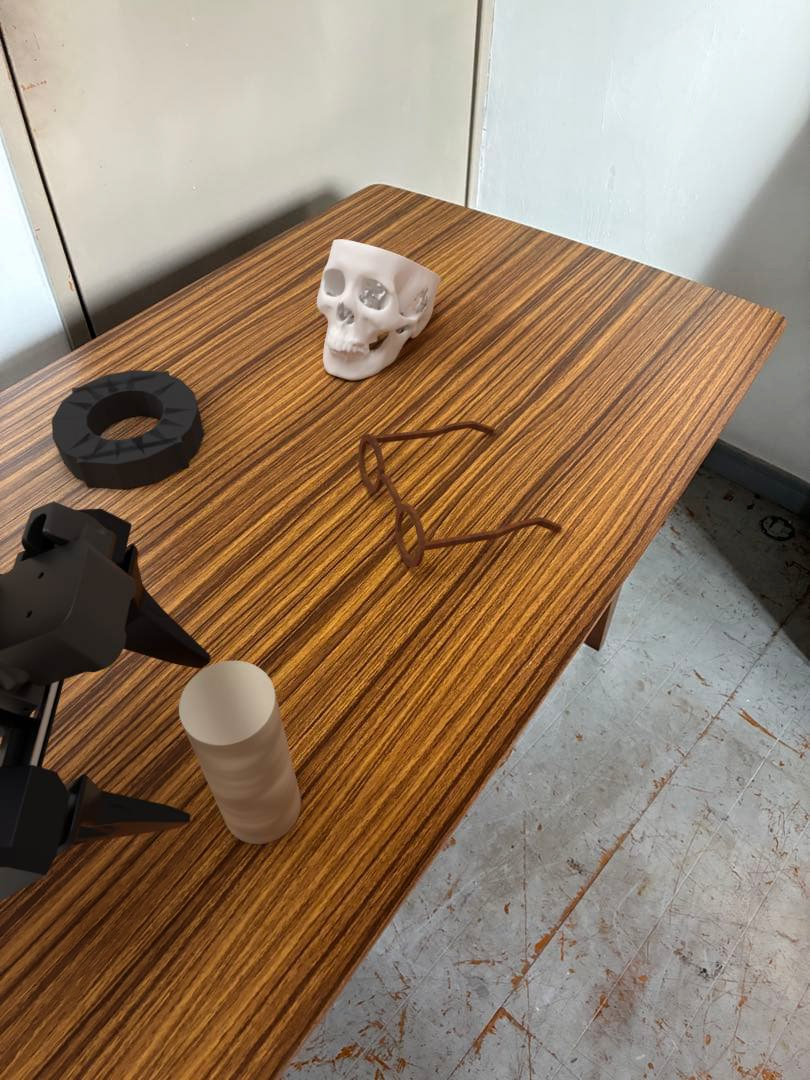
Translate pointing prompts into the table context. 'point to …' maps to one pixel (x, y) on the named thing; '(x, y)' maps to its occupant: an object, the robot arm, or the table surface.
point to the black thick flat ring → (134, 456)
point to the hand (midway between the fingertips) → (197, 736)
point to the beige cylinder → (242, 749)
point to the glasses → (409, 509)
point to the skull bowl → (371, 306)
